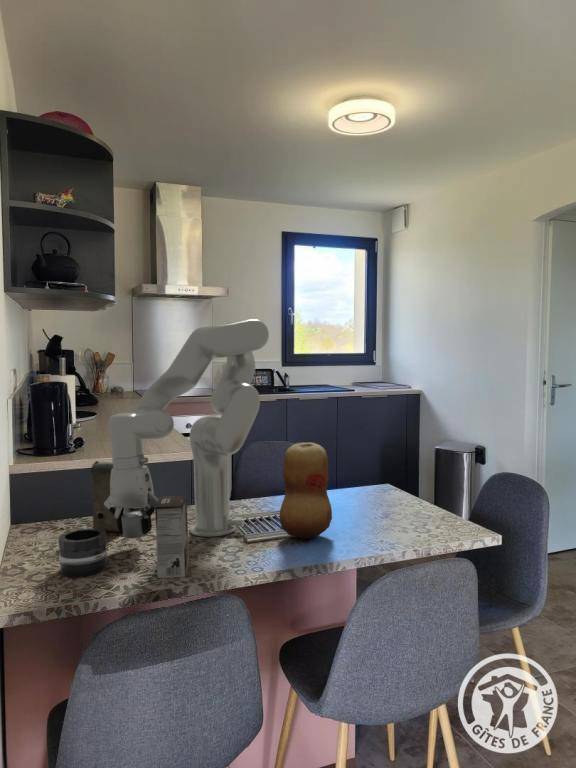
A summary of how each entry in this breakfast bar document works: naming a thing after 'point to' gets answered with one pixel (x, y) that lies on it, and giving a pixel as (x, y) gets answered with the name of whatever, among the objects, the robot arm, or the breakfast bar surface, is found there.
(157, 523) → the coffee box
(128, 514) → the white rounded cube
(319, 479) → the butternut squash
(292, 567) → the breakfast bar surface
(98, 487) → the vintage camera
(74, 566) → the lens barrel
